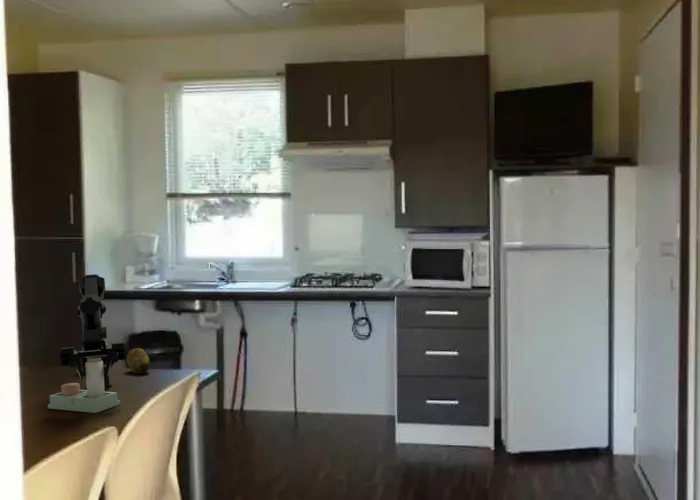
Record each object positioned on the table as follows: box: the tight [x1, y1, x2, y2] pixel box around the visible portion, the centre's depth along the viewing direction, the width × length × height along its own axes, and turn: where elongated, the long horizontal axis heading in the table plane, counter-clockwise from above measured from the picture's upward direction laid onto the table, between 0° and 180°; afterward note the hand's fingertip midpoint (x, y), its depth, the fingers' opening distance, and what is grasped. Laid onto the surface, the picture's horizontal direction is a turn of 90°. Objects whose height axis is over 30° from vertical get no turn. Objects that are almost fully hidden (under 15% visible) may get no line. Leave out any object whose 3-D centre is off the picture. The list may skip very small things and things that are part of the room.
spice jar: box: [85, 358, 106, 398], centre depth 241 cm, size 5×5×13 cm
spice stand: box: [47, 382, 121, 414], centre depth 243 cm, size 19×10×6 cm, turn 63°
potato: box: [126, 347, 151, 374], centre depth 291 cm, size 8×13×8 cm, turn 10°
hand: (94, 377), depth 239 cm, fingers open, 7 cm apart
